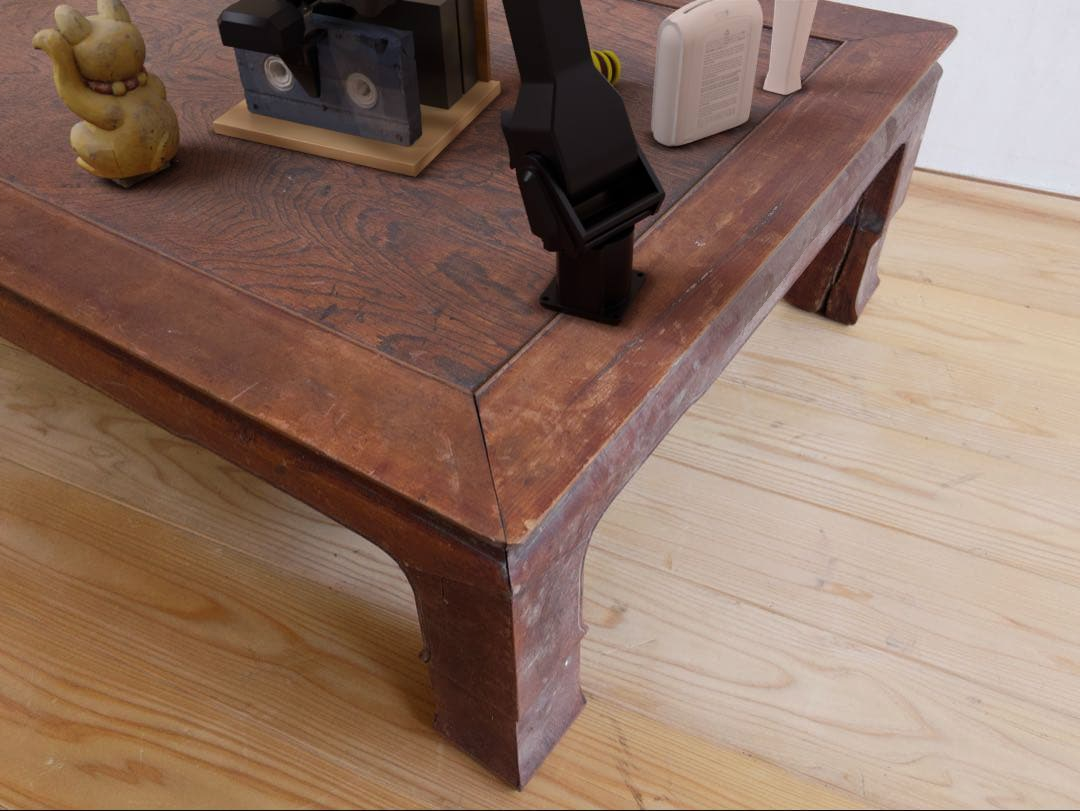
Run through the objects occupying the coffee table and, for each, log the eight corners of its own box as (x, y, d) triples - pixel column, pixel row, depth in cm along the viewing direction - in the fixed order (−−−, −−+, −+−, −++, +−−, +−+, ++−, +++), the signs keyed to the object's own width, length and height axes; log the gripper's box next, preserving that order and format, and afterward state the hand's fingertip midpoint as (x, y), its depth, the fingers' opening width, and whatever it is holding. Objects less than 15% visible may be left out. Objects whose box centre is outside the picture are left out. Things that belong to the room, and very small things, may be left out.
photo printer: (725, 106, 97) (741, -23, 88) (755, 123, 94) (774, -8, 86) (643, 135, 93) (651, 3, 84) (672, 153, 90) (683, 19, 82)
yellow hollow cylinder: (620, 96, 100) (627, 46, 98) (595, 107, 96) (601, 55, 94) (540, 75, 104) (545, 26, 101) (513, 84, 100) (517, 34, 98)
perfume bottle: (811, 82, 100) (839, -74, 90) (794, 99, 97) (821, -60, 87) (769, 72, 102) (792, -82, 92) (751, 88, 99) (773, -69, 89)
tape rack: (415, 177, 88) (401, 55, 80) (215, 133, 94) (184, 17, 87) (501, 92, 100) (495, -21, 92) (317, 58, 106) (298, -50, 99)
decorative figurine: (148, 136, 94) (97, -25, 84) (213, 155, 91) (169, -9, 81) (70, 182, 88) (5, 15, 78) (137, 204, 85) (78, 34, 75)
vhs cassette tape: (425, 136, 91) (414, 29, 84) (408, 150, 89) (395, 43, 82) (265, 99, 97) (242, -3, 90) (246, 112, 95) (221, 8, 88)
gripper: (315, -44, 71) (347, 151, 82) (435, -116, 83) (450, 61, 94) (191, -62, 74) (238, 127, 85) (325, -129, 87) (351, 44, 98)
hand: (326, 88), depth 90 cm, fingers open, 3 cm apart
